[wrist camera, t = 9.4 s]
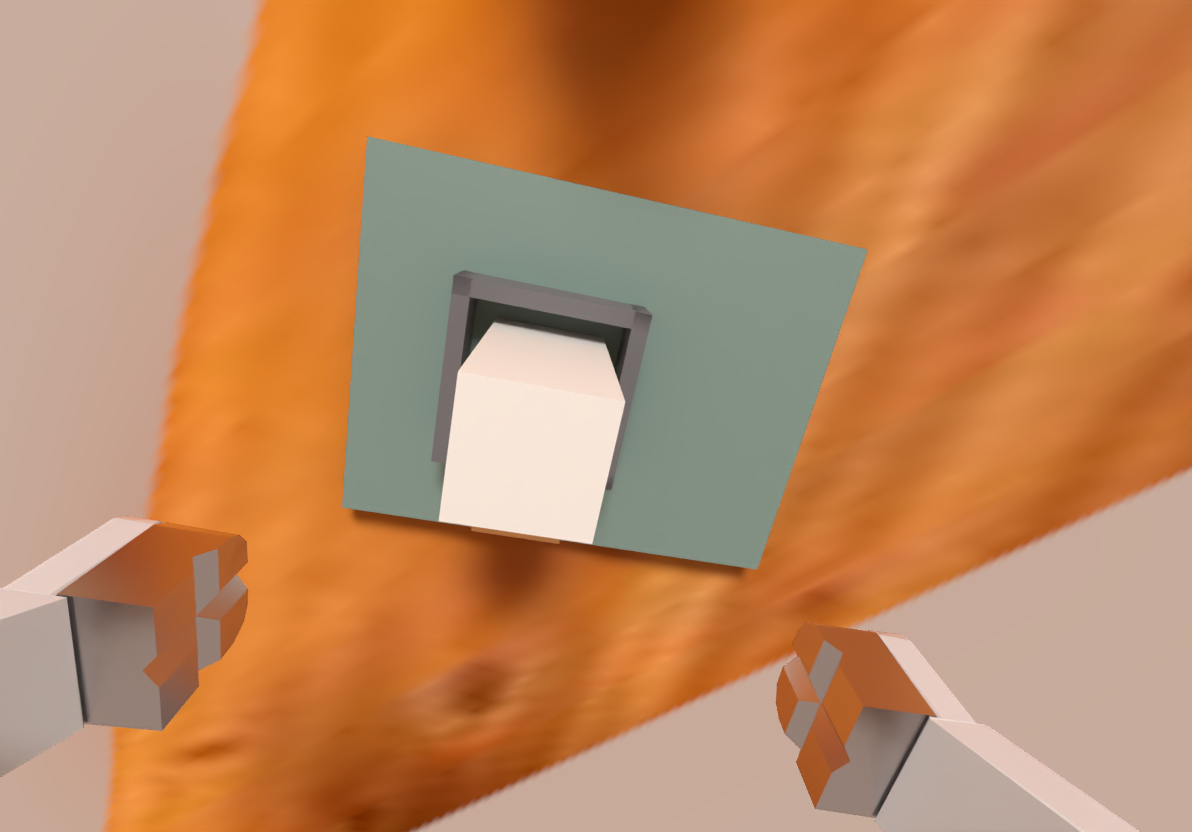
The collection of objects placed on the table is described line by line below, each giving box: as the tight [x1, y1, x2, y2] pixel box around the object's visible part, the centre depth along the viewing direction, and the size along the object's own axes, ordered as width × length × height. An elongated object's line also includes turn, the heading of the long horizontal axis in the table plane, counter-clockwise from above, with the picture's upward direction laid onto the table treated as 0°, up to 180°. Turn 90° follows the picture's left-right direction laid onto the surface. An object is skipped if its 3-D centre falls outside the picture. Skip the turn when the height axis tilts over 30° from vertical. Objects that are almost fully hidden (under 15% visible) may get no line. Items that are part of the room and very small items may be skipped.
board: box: [342, 136, 868, 569], centre depth 21 cm, size 18×14×3 cm
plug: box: [439, 317, 625, 544], centre depth 18 cm, size 4×4×8 cm
